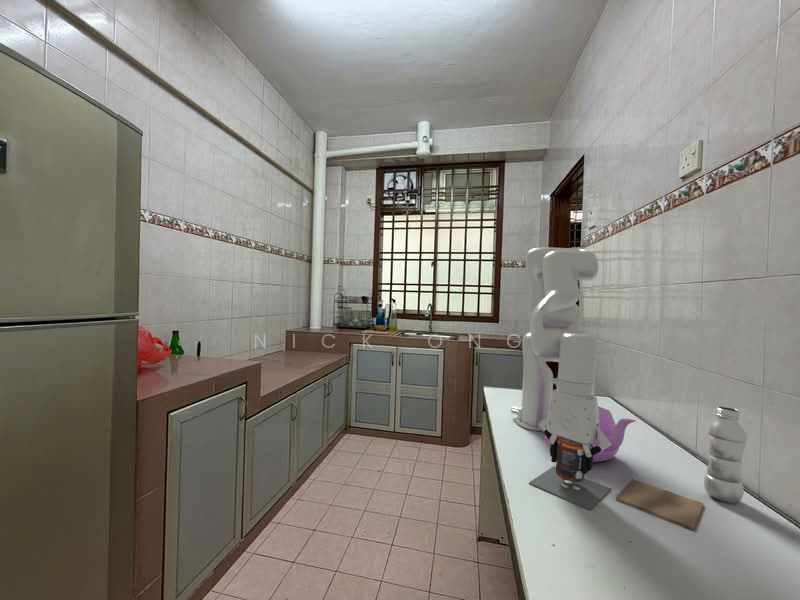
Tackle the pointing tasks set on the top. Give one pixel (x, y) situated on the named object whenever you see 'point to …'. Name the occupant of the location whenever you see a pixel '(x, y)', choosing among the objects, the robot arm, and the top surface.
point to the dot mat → (571, 489)
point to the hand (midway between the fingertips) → (570, 465)
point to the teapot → (608, 434)
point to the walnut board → (661, 503)
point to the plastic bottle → (725, 456)
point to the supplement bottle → (569, 460)
